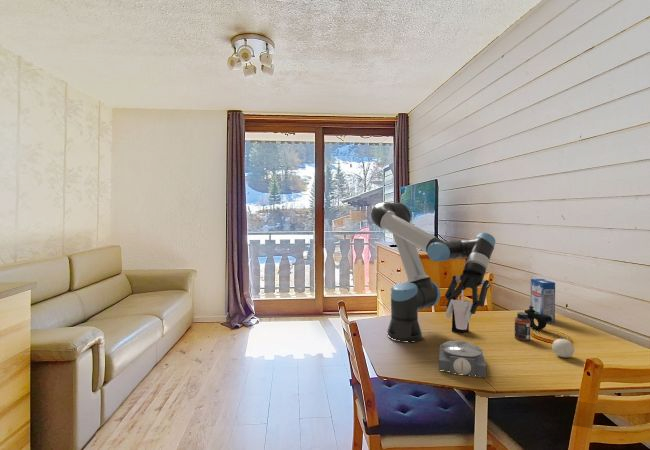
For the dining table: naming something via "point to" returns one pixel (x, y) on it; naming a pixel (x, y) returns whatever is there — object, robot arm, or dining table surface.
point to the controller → (537, 318)
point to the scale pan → (461, 349)
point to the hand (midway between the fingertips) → (457, 318)
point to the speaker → (455, 325)
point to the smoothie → (460, 312)
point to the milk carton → (543, 297)
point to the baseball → (563, 348)
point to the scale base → (462, 364)
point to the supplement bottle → (522, 326)
